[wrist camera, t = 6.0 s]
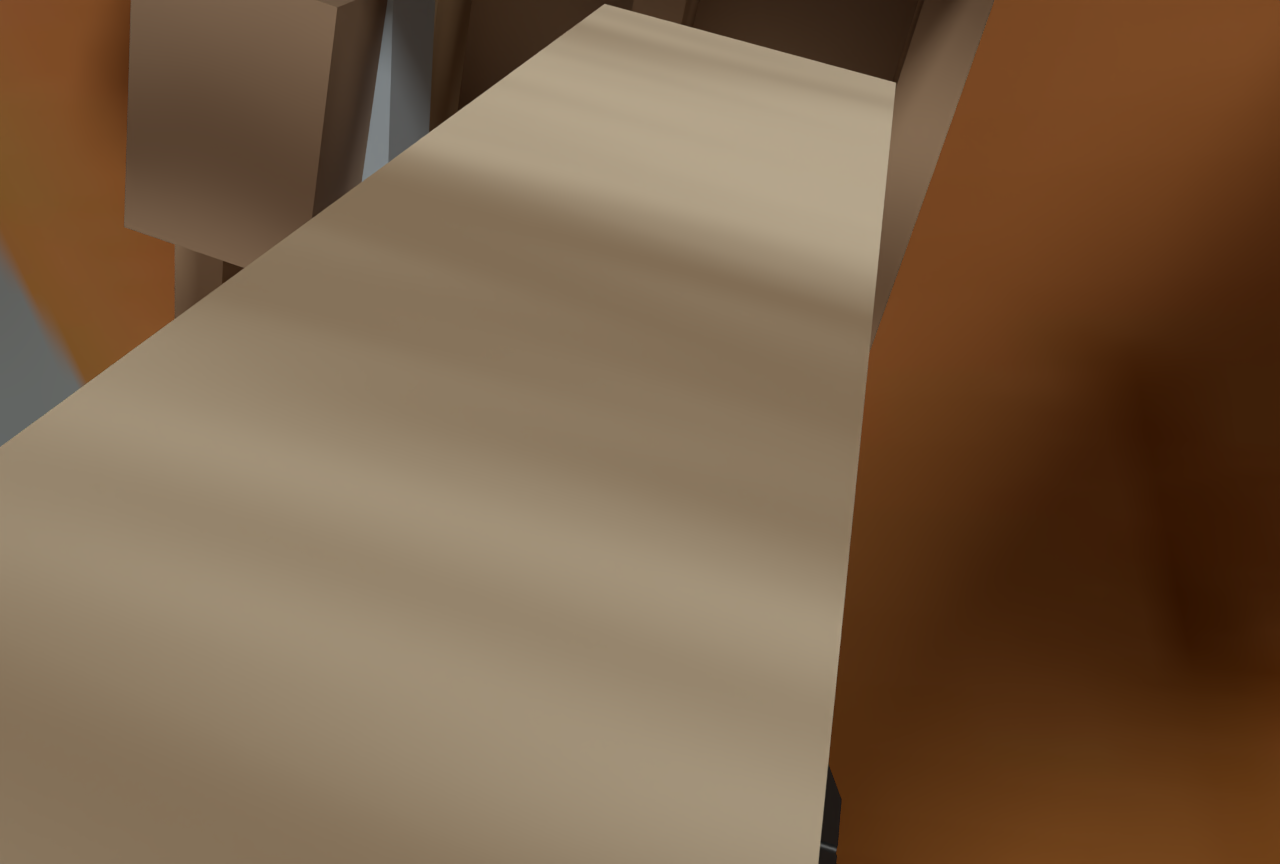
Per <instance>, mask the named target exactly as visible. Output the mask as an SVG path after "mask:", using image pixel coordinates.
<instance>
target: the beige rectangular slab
mask: <svg viewBox="0 0 1280 864" xmlns="http://www.w3.org/2000/svg"><path fill="white" fill-rule="evenodd" d="M895 88H896V83H895V82H892V81H888V80H884V79H880V78H877V77H873V76H869V75H866V74H862V73H858V72H855V71H851V70H847V69H843V68H840V67H836V66H832V65H829V64H825V63H821V62H818V61H814V60H810V59H806V58H803V57H799V56H795V55H792V54H788V53H784V52H781V51H777V50H773V49H770V48H766V47H762V46H758V45H755V44H751V43H747V42H744V41H740V40H736V39H733V38H729V37H725V36H721V35H718V34H714V33H710V32H707V31H703V30H699V29H696V28H692V27H688V26H684V25H681V24H677V23H673V22H670V21H666V20H662V19H659V18H655V17H651V16H648V15H644V14H640V13H636V12H633V11H629V10H625V9H622V8H618V7H614V6H611V5H607V4H604V5H603V6H601V7H600V8H598V9H597V10H596V11H594V12H593V13H592V14H590V15H589V16H588V17H586V18H585V19H583V20H582V21H581V22H579V23H578V24H577V25H575V26H574V27H573V28H571V29H570V30H568V31H567V32H566V33H564V34H563V35H562V36H560V37H559V38H558V39H556V40H555V41H553V42H552V43H551V44H549V45H548V46H547V47H545V48H544V49H543V50H541V51H540V52H538V53H537V54H536V55H534V56H533V57H532V58H530V59H529V60H528V61H526V62H525V63H523V64H522V65H521V66H519V67H518V68H517V69H515V70H514V71H513V72H511V73H510V74H508V75H507V76H506V77H504V78H503V79H502V80H500V81H499V82H498V83H496V84H495V85H493V86H492V87H491V88H489V89H488V90H487V91H485V92H484V93H483V94H481V95H480V96H478V97H477V98H476V99H474V100H473V101H472V102H470V103H469V104H468V105H466V106H465V107H463V108H462V109H461V110H459V111H458V112H457V113H455V114H454V115H453V116H451V117H450V118H448V119H447V120H446V121H444V122H443V123H442V124H440V125H439V126H438V127H436V128H435V129H433V130H432V131H431V132H429V133H428V134H427V135H425V136H424V137H423V138H421V139H420V140H418V141H417V142H416V143H414V144H413V145H412V146H410V147H409V148H408V149H406V150H405V151H403V152H402V153H401V154H399V155H398V156H397V157H395V158H394V159H393V160H391V161H390V162H388V163H387V164H386V165H384V166H383V167H382V168H380V169H379V170H378V171H376V172H375V173H373V174H372V175H371V176H369V177H368V178H367V179H365V180H364V181H363V182H361V183H360V184H358V185H357V186H356V187H354V188H353V189H352V190H350V191H349V192H347V193H346V194H345V195H343V196H342V197H341V198H339V199H338V200H337V201H335V202H334V203H332V204H331V205H330V206H328V207H327V208H326V209H324V210H323V211H322V212H320V213H319V214H317V215H316V216H315V217H313V218H312V219H311V220H309V221H308V222H307V223H305V224H304V225H302V226H301V227H300V228H298V229H297V230H296V231H294V232H293V233H292V234H290V235H289V236H287V237H286V238H285V239H283V240H282V241H281V242H279V243H278V244H277V245H275V246H274V247H272V248H271V249H270V250H268V251H267V252H266V253H264V254H263V255H262V256H260V257H259V258H257V259H256V260H255V261H253V262H252V263H251V264H249V265H248V266H247V267H245V268H244V269H242V270H241V271H240V272H238V273H237V274H236V275H234V276H233V277H232V278H230V279H229V280H227V281H226V282H225V283H223V284H222V285H221V286H219V287H218V288H217V289H215V290H214V291H212V292H211V293H210V294H208V295H207V296H206V297H204V298H203V299H202V300H200V301H199V302H197V303H196V304H195V305H193V306H192V307H191V308H189V309H188V310H187V311H185V312H184V313H182V314H181V315H180V316H178V317H177V318H176V319H174V320H173V321H172V322H170V323H169V324H167V325H166V326H165V327H163V328H162V329H161V330H159V331H158V332H157V333H155V334H154V335H152V336H151V337H150V338H148V339H147V340H146V341H144V342H143V343H142V344H140V345H139V346H137V347H136V348H135V349H133V350H132V351H131V352H129V353H128V354H127V355H125V356H124V357H122V358H121V359H120V360H118V361H117V362H116V363H114V364H113V365H112V366H110V367H109V368H107V369H106V370H105V371H103V372H102V373H101V374H99V375H98V376H97V377H95V378H94V379H92V380H91V381H90V382H88V383H87V384H86V385H84V386H83V387H82V388H80V389H79V390H78V391H76V392H75V393H73V394H72V395H71V396H69V397H68V398H67V399H65V400H64V401H62V402H61V403H60V404H58V405H57V406H56V407H54V408H53V409H52V410H50V411H49V412H48V413H46V414H45V415H43V416H42V417H41V418H39V419H38V420H37V421H35V422H34V423H32V424H31V425H30V426H28V427H27V428H26V429H24V430H23V431H22V432H20V433H19V434H17V435H16V436H15V437H13V438H12V439H11V440H9V441H8V442H7V443H5V444H4V445H2V446H1V447H0V864H818V861H819V851H820V841H821V831H822V821H823V811H824V801H825V791H826V781H827V771H828V761H829V751H830V741H831V731H832V721H833V711H834V701H835V691H836V681H837V671H838V660H839V650H840V640H841V630H842V620H843V610H844V600H845V590H846V580H847V570H848V560H849V550H850V540H851V530H852V520H853V510H854V500H855V490H856V480H857V470H858V460H859V450H860V440H861V430H862V420H863V410H864V400H865V389H866V379H867V369H868V359H869V349H870V339H871V329H872V319H873V309H874V299H875V289H876V279H877V269H878V259H879V249H880V239H881V229H882V219H883V209H884V199H885V189H886V179H887V169H888V159H889V149H890V139H891V129H892V118H893V108H894V98H895Z"/></svg>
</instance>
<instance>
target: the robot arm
mask: <svg viewBox="0 0 1280 864" xmlns="http://www.w3.org/2000/svg"><path fill="white" fill-rule="evenodd" d="M840 811H841V797H840V794H839V792H838V789H837V786H836V784H835V781H834V778H833V775H832V773H831V770H830V767H829V765H828V771H827V781H826V791H825V801H824V811H823V821H822V831H821V841H820V851H819V861H818V864H836V859H837V855H836V849H837V846H838V835H839V823H840Z"/></svg>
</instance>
